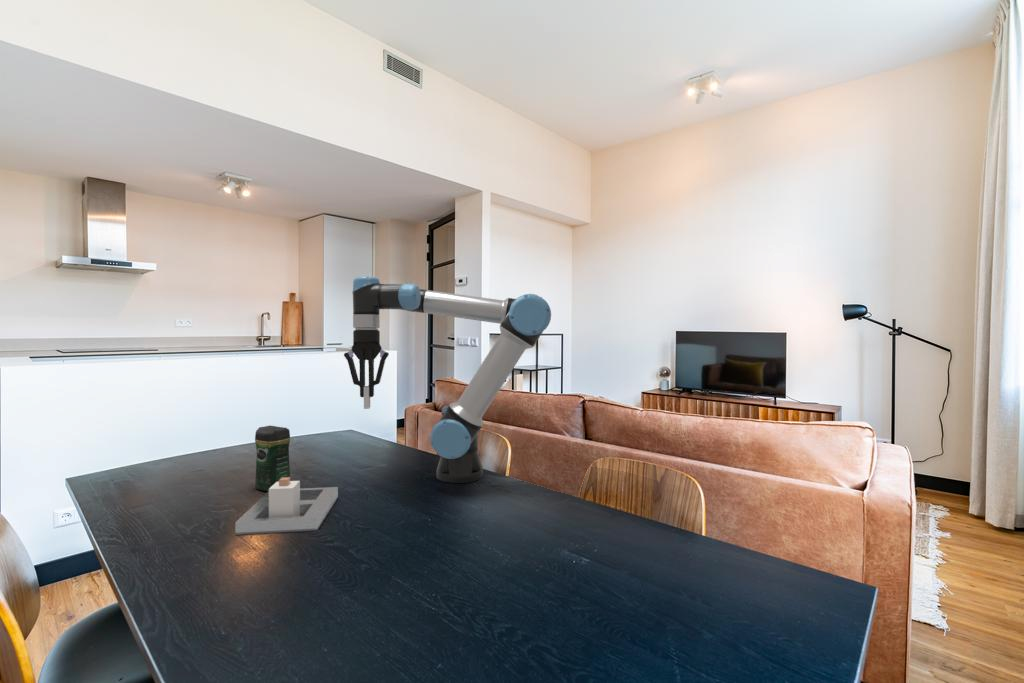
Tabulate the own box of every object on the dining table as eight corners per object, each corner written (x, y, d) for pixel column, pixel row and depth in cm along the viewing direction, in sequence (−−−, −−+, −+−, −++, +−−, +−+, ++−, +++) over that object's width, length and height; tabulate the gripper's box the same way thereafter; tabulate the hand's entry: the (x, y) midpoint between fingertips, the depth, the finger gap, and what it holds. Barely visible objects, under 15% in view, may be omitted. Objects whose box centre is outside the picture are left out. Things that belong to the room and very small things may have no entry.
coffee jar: (295, 486, 141) (295, 425, 141) (271, 494, 134) (271, 430, 134) (274, 481, 146) (274, 422, 145) (250, 489, 139) (250, 427, 138)
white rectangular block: (300, 515, 118) (299, 474, 117) (293, 525, 112) (292, 481, 112) (277, 517, 117) (276, 475, 117) (268, 526, 111) (268, 482, 111)
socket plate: (337, 497, 132) (337, 486, 132) (317, 530, 110) (317, 518, 110) (270, 500, 129) (270, 489, 129) (235, 535, 108) (235, 522, 108)
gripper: (390, 329, 143) (390, 405, 144) (346, 329, 141) (346, 406, 142) (387, 329, 136) (388, 409, 137) (341, 329, 134) (341, 410, 134)
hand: (367, 407), depth 139 cm, fingers closed
